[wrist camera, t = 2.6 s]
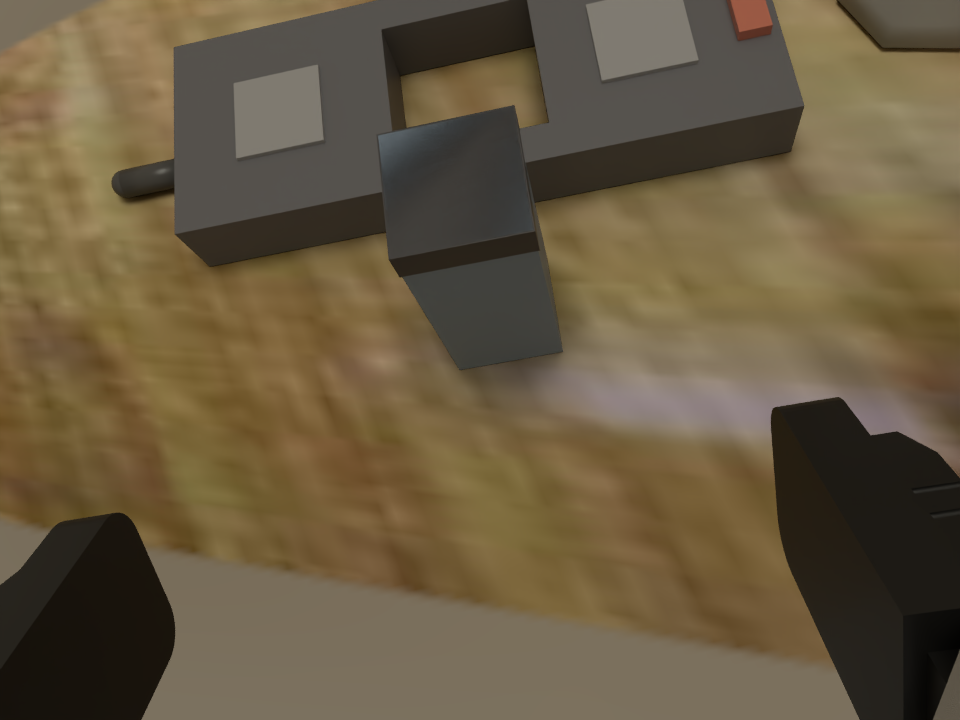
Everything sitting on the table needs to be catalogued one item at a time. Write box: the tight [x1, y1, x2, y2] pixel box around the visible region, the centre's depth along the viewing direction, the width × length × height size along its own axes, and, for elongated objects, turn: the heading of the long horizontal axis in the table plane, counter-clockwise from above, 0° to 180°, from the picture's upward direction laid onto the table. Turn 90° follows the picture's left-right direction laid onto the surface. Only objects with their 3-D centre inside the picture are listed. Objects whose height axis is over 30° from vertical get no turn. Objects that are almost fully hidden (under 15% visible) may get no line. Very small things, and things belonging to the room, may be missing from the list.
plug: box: [376, 105, 563, 370], centre depth 29 cm, size 4×4×10 cm
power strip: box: [112, 0, 804, 267], centre depth 36 cm, size 28×9×4 cm, turn 97°
